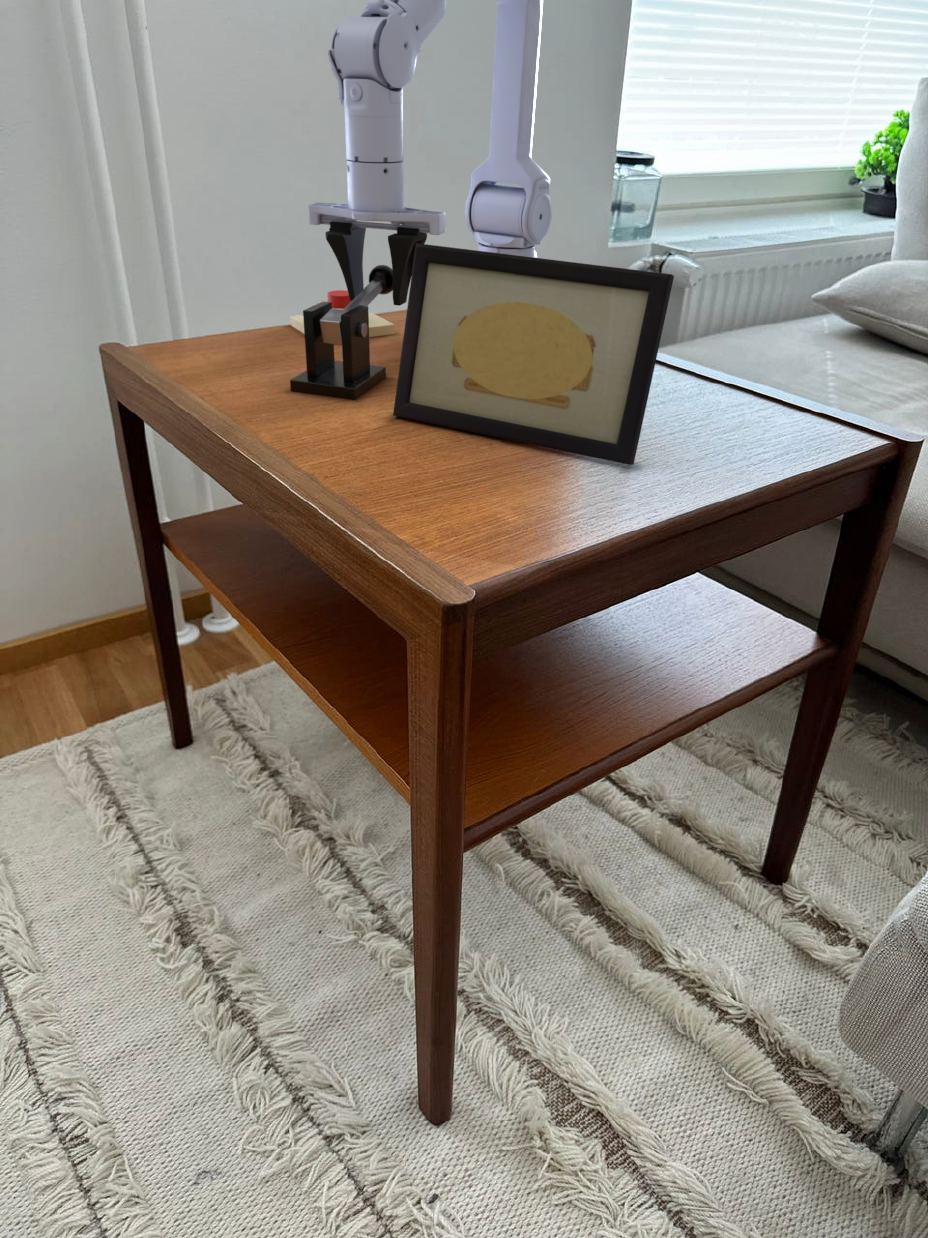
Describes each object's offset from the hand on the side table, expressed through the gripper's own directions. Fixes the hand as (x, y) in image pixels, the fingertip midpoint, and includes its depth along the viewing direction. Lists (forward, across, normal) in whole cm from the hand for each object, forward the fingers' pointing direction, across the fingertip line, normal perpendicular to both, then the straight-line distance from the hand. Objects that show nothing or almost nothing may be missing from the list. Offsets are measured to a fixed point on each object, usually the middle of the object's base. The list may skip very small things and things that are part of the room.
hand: (378, 301), depth 97 cm
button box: (+6, -9, +10) cm, 15 cm away
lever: (+1, 0, -4) cm, 4 cm away
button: (+4, -9, +10) cm, 14 cm away
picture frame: (+6, +21, -15) cm, 27 cm away
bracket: (+6, 0, -10) cm, 12 cm away
